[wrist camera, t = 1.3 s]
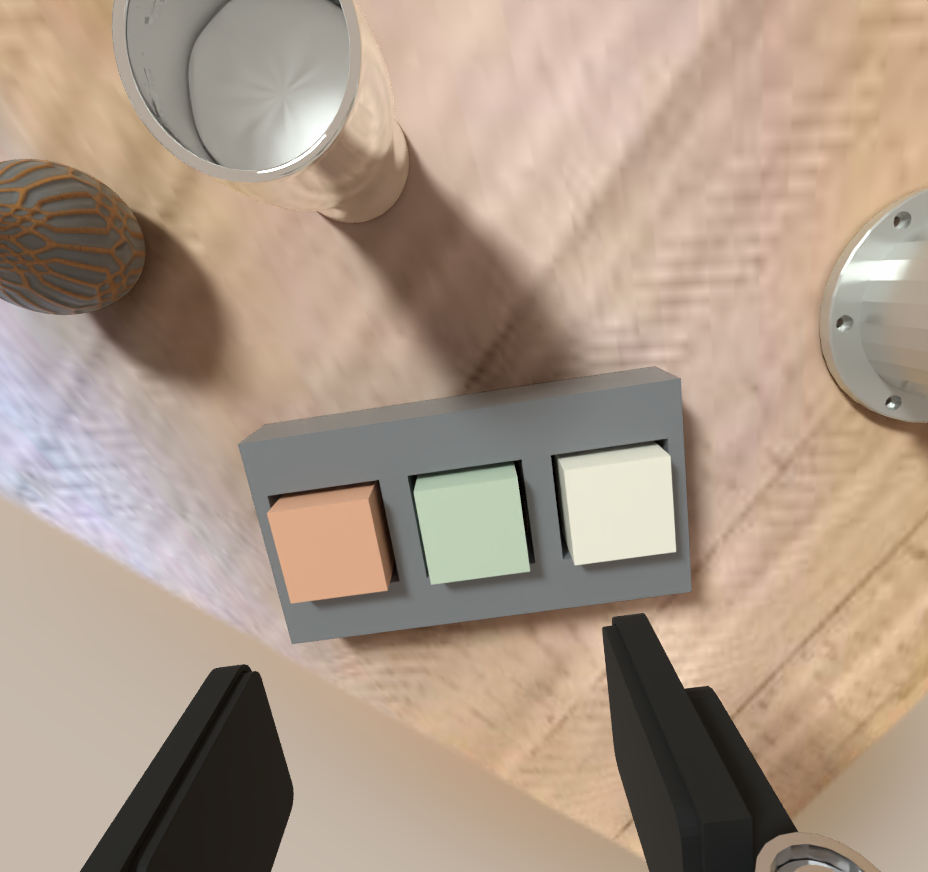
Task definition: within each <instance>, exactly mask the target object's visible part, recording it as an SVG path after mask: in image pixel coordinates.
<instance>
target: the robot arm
mask: <svg viewBox="0 0 928 872" xmlns="http://www.w3.org/2000/svg"><path fill="white" fill-rule="evenodd" d="M893 222H894V223H893ZM837 320H838V324H837V325H836V323H837ZM819 331H820V339H821V346H822V352H823V355H824V358H825V360H826V363H827V366H828V369H829V371H830V372H831V374H832V376H833V377H834V379H835V380H836V382H837V383H838V385H839V387H840V388H841V389H842V390H843V391H844V392H845V393H846V394H847V395H849V396H850V397H851V398H852V399H853V400H854V401H855V402H857V403H859V404H860V405H862V406H863V407H865V408H867V409H868V410H870V411H873V412H875V413H878V414H881V415H884V416H886V417H889V418H893V419H897V420H902V421H906V422H915V423H928V187H926V188H923V189H920V190H917V191H915V192H912V193H909V194H908V195H906V196H904V197H902V198H901V199H899V200H897V201H895V202H894V203H892V204H890V205H888V206H887V207H886V208H884V209H883V210H882V211H881V212H879V213H878V214H877V215H876V216H874V217H873V218H872V219H871V220H869V221H868V222H867V223H866V224H865V225H864V226H863V228H862V229H861V230H860V231H859V232H858V233H857V234H856V235H855V236H854V237H853V239H852V240H851V241H850V242H849V244H848V245H847V247H846V248H845V250H844V251H843V253H842V254H841V256H840V257H839V259H838V261H837V262H836V264H835V266H834V269H833V271H832V273H831V276H830V278H829V280H828V282H827V285H826V288H825V292H824V296H823V300H822V305H821V311H820V327H819ZM602 633H603V643H604V653H605V663H606V673H607V683H608V693H609V703H610V712H611V722H612V732H613V742H614V751H615V756H616V761H617V766H618V770H619V773H620V776H621V780H622V783H623V786H624V790H625V793H626V796H627V799H628V803H629V806H630V809H631V813H632V816H633V819H634V822H635V826H636V829H637V832H638V836H639V839H640V842H641V845H642V849H643V852H644V855H645V859H646V862H647V865H648V868H649V871H650V872H880V871H879V870H878V869H877V868H876V867H875V866H874V865H873V864H871V863H870V862H869V861H868V860H867V859H866V858H864V857H863V856H862V855H861V854H859V853H857V852H856V851H854V850H852V849H851V848H849V847H847V846H846V845H844V844H842V843H840V842H839V841H835V840H833V839H830V838H827V837H824V836H821V835H818V834H810V833H800V832H798V831H797V829H796V827H795V826H794V824H793V822H792V821H791V819H790V817H789V816H788V814H787V812H786V811H785V809H784V807H783V806H782V804H781V802H780V800H779V799H778V797H777V795H776V794H775V792H774V790H773V789H772V787H771V785H770V784H769V782H768V780H767V779H766V777H765V775H764V774H763V772H762V770H761V768H760V767H759V765H758V763H757V762H756V760H755V758H754V757H753V755H752V753H751V752H750V750H749V748H748V747H747V745H746V743H745V742H744V740H743V738H742V737H741V735H740V733H739V731H738V730H737V728H736V726H735V725H734V723H733V721H732V720H731V718H730V716H729V715H728V713H727V711H726V710H725V708H724V706H723V705H722V703H721V701H720V700H719V698H718V696H717V695H716V693H715V692H714V691H713V689H712V688H710V687H709V686H704V687H695V688H687V689H684V687H683V685H682V683H681V681H680V679H679V678H678V676H677V674H676V672H675V670H674V668H673V666H672V664H671V662H670V660H669V658H668V657H667V655H666V653H665V651H664V649H663V647H662V645H661V643H660V641H659V639H658V638H657V636H656V634H655V632H654V630H653V628H652V626H651V624H650V622H649V620H648V618H647V617H646V615H645V614H644V613H640V614H632V615H625V616H617V617H613V618H612V626H606V627H603V628H602ZM293 795H294V793H293V785H292V781H291V778H290V775H289V771H288V767H287V764H286V761H285V757H284V754H283V750H282V747H281V743H280V740H279V737H278V733H277V730H276V726H275V723H274V719H273V717H272V713H271V709H270V706H269V702H268V699H267V695H266V692H265V689H264V686H263V682H262V678H261V676H260V674H259V673H258V672H256V671H254V672H252V671H251V669H250V667H249V666H248V665H245V664H243V665H236V666H228V667H220V668H216V669H213V670H212V671H211V672H210V674H209V675H208V677H207V678H206V680H205V681H204V683H203V684H202V686H201V687H200V689H199V690H198V692H197V694H196V695H195V697H194V698H193V700H192V701H191V703H190V704H189V706H188V707H187V709H186V710H185V712H184V713H183V715H182V716H181V718H180V719H179V721H178V723H177V724H176V726H175V727H174V729H173V730H172V732H171V733H170V735H169V736H168V738H167V739H166V741H165V742H164V744H163V746H162V747H161V748H160V750H159V752H158V753H157V755H156V756H155V758H154V759H153V761H152V762H151V764H150V765H149V767H148V768H147V770H146V771H145V773H144V775H143V776H142V778H141V779H140V781H139V782H138V784H137V785H136V787H135V788H134V790H133V791H132V793H131V795H130V796H129V797H128V799H127V800H126V802H125V804H124V805H123V807H122V808H121V810H120V811H119V813H118V814H117V816H116V817H115V819H114V821H113V822H112V823H111V825H110V827H109V828H108V829H107V831H106V833H105V834H104V836H103V837H102V839H101V840H100V842H99V843H98V845H97V846H96V848H95V849H94V851H93V853H92V854H91V856H90V857H89V859H88V860H87V862H86V863H85V865H84V866H83V868H82V869H81V871H80V872H271V869H272V867H273V864H274V861H275V858H276V855H277V852H278V848H279V846H280V843H281V839H282V836H283V834H284V831H285V828H286V825H287V822H288V819H289V816H290V812H291V809H292V805H293Z"/></svg>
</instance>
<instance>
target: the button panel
mask: <svg viewBox="0 0 928 872" xmlns="http://www.w3.org/2000/svg"><path fill="white" fill-rule="evenodd" d="M646 441H654V442H655V443H656V444H658V445H659V446H660V447H661V448H662V449H663V450H664V451H666V452H667V453H668V454H669V455H670V456H671V473H672V490H673V507H674V524H675V540H676V552H671V553H664V554H656V555H649V556H642V557H634V558H627V559H619V560H612V561H604V562H597V563H589V564H582V565H574V563H573V560H572V557H571V554H570V552H569V549H568V546H567V544H566V541H565V538H564V536H563V533H562V527H559V522H558V513H557V505H556V496H555V488H554V479H553V471H552V462H551V455H556V454H563V453H570V452H577V451H583V450H590V449H597V448H604V447H611V446H618V445H625V444H632V443H639V442H646ZM238 446H239V450H240V454H241V457H242V461H243V465H244V468H245V472H246V476H247V479H248V483H249V487H250V491H251V494H252V498H253V502H254V505H255V509H256V513H257V516H258V520H259V524H260V528H261V531H262V535H263V539H264V542H265V546H266V550H267V553H268V557H269V561H270V565H271V568H272V572H273V576H274V579H275V583H276V587H277V590H278V594H279V598H280V602H281V605H282V609H283V613H284V616H285V620H286V624H287V627H288V631H289V635H290V639H291V642H292V644H296V643H304V642H312V641H319V640H327V639H335V638H342V637H350V636H358V635H365V634H373V633H380V632H388V631H396V630H403V629H411V628H419V627H426V626H434V625H442V624H449V623H457V622H464V621H472V620H480V619H487V618H495V617H503V616H510V615H518V614H526V613H533V612H541V611H549V610H556V609H564V608H571V607H579V606H587V605H594V604H602V603H610V602H617V601H625V600H633V599H640V598H648V597H656V596H663V595H671V594H678V593H686V592H692V586H691V567H690V548H689V529H688V510H687V491H686V472H685V453H684V434H683V415H682V396H681V378H679V377H677V376H674V375H672V374H670V373H668V372H666V371H664V370H662V369H660V368H658V367H655V366H654V367H647V368H640V369H634V370H627V371H620V372H614V373H607V374H600V375H594V376H587V377H580V378H573V379H567V380H560V381H553V382H547V383H540V384H533V385H527V386H520V387H513V388H507V389H500V390H493V391H487V392H480V393H473V394H467V395H460V396H453V397H447V398H440V399H433V400H426V401H420V402H413V403H406V404H400V405H393V406H386V407H380V408H373V409H366V410H360V411H353V412H346V413H340V414H333V415H326V416H320V417H313V418H306V419H299V420H293V421H286V422H279V423H273V424H266V425H264V426H262V427H261V428H259V429H258V430H257V431H255V432H254V433H253V434H251V435H250V436H248V437H247V438H246V439H244V440H243V441H241V442H240V443H239V444H238ZM514 460H518V461H519V469H520V476H521V483H522V491H523V498H524V506H525V513H526V521H527V528H528V532H525V537H526V544H527V551H528V559H529V566H530V572H522V573H515V574H507V575H500V576H493V577H485V578H478V579H470V580H463V581H455V582H448V583H440V584H433V585H431V582H430V577H429V571H428V566H427V561H426V555H425V550H424V545H423V540H422V534H421V529H420V524H419V518H418V513H417V508H416V503H415V497H414V489H415V485H416V481H417V477H418V474H423V473H430V472H437V471H444V470H451V469H458V468H465V467H472V466H479V465H486V464H493V463H500V462H507V461H514ZM375 480H379V482H380V487H381V492H382V497H383V502H384V507H385V511H386V516H387V521H388V526H389V531H390V536H391V541H392V546H393V550H394V555H395V564H394V568H393V572H392V576H391V580H390V583H389V587H388V591H381V592H373V593H366V594H359V595H351V596H344V597H336V598H329V599H321V600H314V601H306V602H299V603H292V604H291V602H290V599H289V595H288V591H287V587H286V584H285V580H284V576H283V572H282V569H281V565H280V561H279V557H278V553H277V550H276V546H275V542H274V538H273V535H272V531H271V527H270V523H269V519H268V516H267V512H268V511H269V510H270V509H271V508H272V507H273V505H274V504H275V503H276V502H277V501H278V499H279V498H280V497H281V496H282V495H283V494H284V493H291V492H298V491H305V490H312V489H319V488H326V487H333V486H340V485H347V484H354V483H361V482H368V481H375Z"/></svg>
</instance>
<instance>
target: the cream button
mask: <svg viewBox="0 0 928 872" xmlns="http://www.w3.org/2000/svg"><path fill="white" fill-rule="evenodd" d="M553 458H554V466H555V475H556V483H557V492H558V501H559V509H560V518H561V526H562V533H563V536H564V538H565V541H566V544H567V546H568V549H569V552H570V554H571V557H572V560H573V563H574V565H582V564H589V563H597V562H604V561H612V560H619V559H627V558H634V557H642V556H649V555H656V554H664V553H671V552H676V540H675V524H674V507H673V490H672V473H671V456H670V455H669V454H668V453H667V452H666V451H664V450H663V449H662V448H661V447H660V446H659V445H658V444H656V443H655V442H654V441H646V442H639V443H632V444H625V445H618V446H611V447H604V448H597V449H590V450H583V451H577V452H570V453H563V454H556V455H553Z"/></svg>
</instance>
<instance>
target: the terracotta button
mask: <svg viewBox="0 0 928 872" xmlns="http://www.w3.org/2000/svg"><path fill="white" fill-rule="evenodd" d="M267 516H268V519H269V523H270V527H271V531H272V535H273V538H274V542H275V546H276V550H277V553H278V557H279V561H280V565H281V569H282V572H283V576H284V580H285V584H286V587H287V591H288V595H289V599H290V602H291V604H292V603H299V602H306V601H314V600H321V599H329V598H336V597H344V596H351V595H359V594H366V593H373V592H381V591H388V587H389V583H390V580H391V576H392V572H393V568H394V564H395V555H394V550H393V546H392V541H391V536H390V531H389V526H388V521H387V516H386V511H385V507H384V502H383V497H382V492H381V487H380V482H379V480H375V481H368V482H361V483H354V484H347V485H340V486H333V487H326V488H319V489H312V490H305V491H298V492H291V493H284V494H283V495H282V496H281V497H280V498H279V499H278V501H277V502H276V503H275V504H274V505H273V507H272V508H271V509H270V510H269V511H268V512H267Z"/></svg>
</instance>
